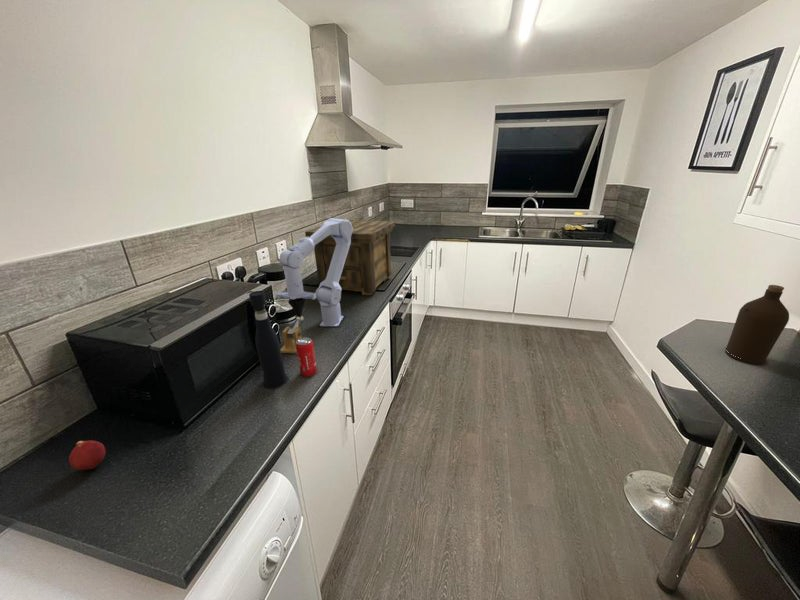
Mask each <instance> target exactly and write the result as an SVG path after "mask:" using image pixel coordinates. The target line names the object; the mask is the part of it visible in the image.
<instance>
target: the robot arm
mask: <svg viewBox="0 0 800 600" xmlns="http://www.w3.org/2000/svg"><path fill="white" fill-rule="evenodd" d="M321 226H322V227H320V226H319V227H320V228H319V229H318V230H317V231H316V232H315V233H314V234H313V235H312V236H310V237H303V238H302V237H301V238H299V239H298V242H296V243H295V244H294V245H291V246H290V247H289V249H284V250H283V251H282V252H281V253H280V255H279V258H278V262H279V264H280V265H281V266H282V269H283V274H284V279H285V285H286V290H287V291H284V292H278V293H276V299H277V300H281V299H288V301H287V303H288V305H290V307H291V308H292V309H293V311H294V313H295V315H296V318H297V317H301V316H303V309H304V304H305V303H306V300H309V299H310V300H313V301H314V300H317V301H318V303H319V305H320V311H321V312H320V313H321V320H322V321H321V322H320V323H319V326H320V327H339V326H340V324H341V322H342V320H343V318H344V315H342V310H341V303H340V301H341V300H342V291H343V290H342V289H341V287H340V285H339V280H340V277H341V273H342V270H343V267H344V264H345V260H346V257H347V254H348V250H349V247H350V243H351V235H352V232H353V227H352V224H351V222H350V221H349V219H341V218H334V217H329V218H328V219H327V220H325V221H324V222H323V224H322V225H321ZM329 235H331V236H332V237H333V238H334V240H335V241H336V247H335V250H334V254H333V257H332V260H331V263H330V267H329V270H328V273H327V277H326V279H325V280H324V281H323V282H321V283H320V286H319V285H318V288H316V290H315V292H310V291H304V290H305V289H304V284H303V277H302V272H301V265H302V263H303V261H304V260H305V258H307V257H308V256H309V255H310V254H311V253H312V252H315V251H314V249H315V245H316V244H317V243H319V242H320V241H322V240H323V239H325V238H326V237H327V236H329ZM330 288H332V289H330Z"/></svg>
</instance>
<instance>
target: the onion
mask: <svg viewBox="0 0 800 600" xmlns="http://www.w3.org/2000/svg"><path fill="white" fill-rule="evenodd" d="M106 451H107V450H106V447H105V445H104V444H103V443H102V442H100V441H97V440H93V439H91V440H79V441H77V442H76V443H75V447H74V448H73V449H72V450H71V452H70V454H69V456H68V462H69V466H70V467H71V468H72V469H74V470H77V471H88V470H94V469H96V468H97V467H98V466H99V465H100V464H101V463H102V462H103V460H104V459H105V457H106Z"/></svg>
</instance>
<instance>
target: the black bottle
mask: <svg viewBox="0 0 800 600" xmlns="http://www.w3.org/2000/svg"><path fill="white" fill-rule="evenodd" d="M248 296H249V301H250V305H251V306H252V307H254V317H255V319H254V321H255V326H256V330H255V337H254V338H255V340H254V341H255V347H256V352H257V357H258V361H259V365H260V369H261V374H262V377H263V381H264V385H265V387H266V388H271V389H272V388H277V387H280V386H282V385H283V384H285V383H286V382H287V375H286V370H285V366H284V360H283V355H282V353H281V350H280V349H281V346H280V340H279V337H278V335H277V333H276V331H275V329H274V328H273V326H272V325H271V321H270V316H269V315H268V311H267V310H266V307H265V305H266V304H267V300H266V295H265V292H264V290H256V291H255V290H254V291H251V292H249V294H248Z"/></svg>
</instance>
